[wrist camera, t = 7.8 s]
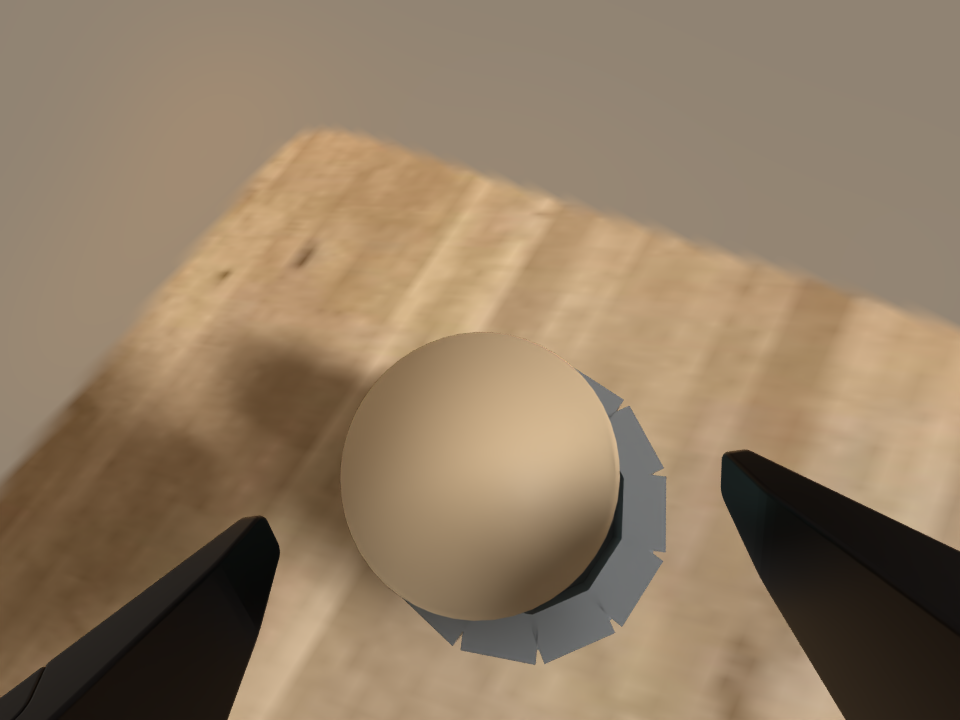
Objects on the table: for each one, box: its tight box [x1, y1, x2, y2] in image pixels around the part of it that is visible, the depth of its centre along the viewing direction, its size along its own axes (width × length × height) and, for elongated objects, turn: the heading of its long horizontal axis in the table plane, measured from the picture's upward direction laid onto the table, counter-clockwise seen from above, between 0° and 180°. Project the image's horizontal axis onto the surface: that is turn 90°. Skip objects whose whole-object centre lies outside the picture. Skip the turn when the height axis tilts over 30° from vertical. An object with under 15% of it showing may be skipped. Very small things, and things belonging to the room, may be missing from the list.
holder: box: [403, 367, 666, 665], centre depth 15 cm, size 9×9×3 cm
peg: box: [340, 332, 620, 621], centre depth 11 cm, size 4×4×10 cm
